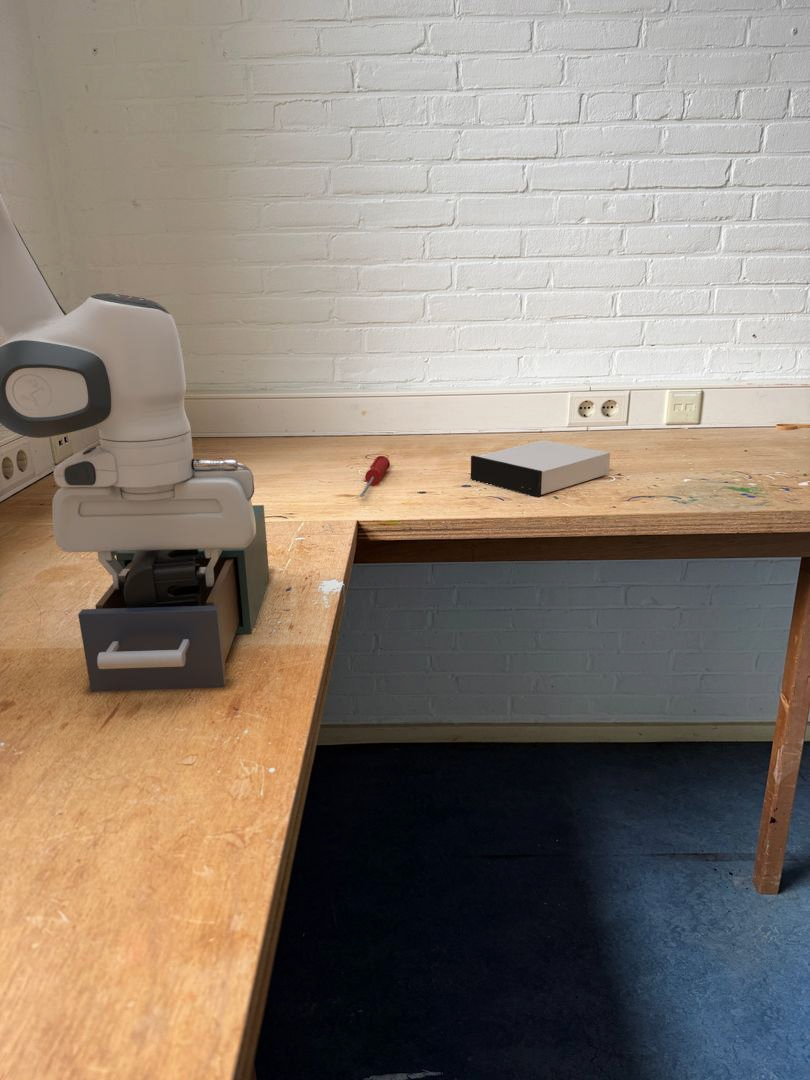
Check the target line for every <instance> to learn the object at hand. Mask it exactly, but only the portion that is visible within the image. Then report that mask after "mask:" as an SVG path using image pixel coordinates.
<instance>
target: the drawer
mask: <svg viewBox="0 0 810 1080" xmlns="http://www.w3.org/2000/svg"><path fill="white" fill-rule="evenodd" d="M210 559H211V558H195V560H196V562H195V564H200V567H207V565H208V563H209V561H210ZM131 563H132V560H131V561H130V562H129V564H128V565H127V566H126V567H125V569H130V567H131ZM213 571H214V584H213V586H212V587H202V594H201V606H183V607H147V608H128V606H127V604H126V602H125V599H124V589H114V585H113V583H112V584H111V585H110V586H109V588H107V590H106V591H105V592H104V594H103V595H102V596H101V597H100V598H99V600H98V601H97V602H96V604H95V608H82V609H81V610H80V611H79V613H78V614H77V616H78V621H79V628H80V635H81V641H82V647H83V652H84V658H85V664H86V669H87V676H88V683H89V687H90V693H97V692H98V693H99V692H126V691H127V692H128V691H129V692H131V691H160V690H191V689H192V690H193V689H195V690H196V689H217V688H218V689H221V688H222V689H224V688H226V684H227V676H226V675H227V674H226V667H225V663H226V660H227V657H228V654H229V652H230V649H231V647H232V643H233V641H234V638H235V636H236V634H235V633H236V630H237V627H238V625H239V622H240V619H241V609H240V598H239V587H238V576H237V565H236V557H225V558H218V560H217V562H216V564H215V566H214V568H213Z"/></svg>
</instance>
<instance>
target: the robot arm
mask: <svg viewBox="0 0 810 1080" xmlns="http://www.w3.org/2000/svg"><path fill="white" fill-rule="evenodd" d="M0 330H1V332H2V335H3V337H4V341H5V342H4V343H2V344H1V345H0V424H1V425H2V427H4V428H6V429H8V430H9V431H11V432H13V433H14V434H17V435H19V436H22V437H27V438H35V439H44V438H45V439H46V438H54V437H59V436H62V435H67V434H70V433H74V432H78V431H82V430H85V429H89V428H96V429H97V432H98V439H99V445H96V446H93V447H90V448H87V449H84V450H81V451H79V452H76V453H75V454H72V455H71V456H69V457H67V458H65V459H64V460H63V461H61V462H60V463H59V464H57V466H56V467H55V468H54V469H53V479H54V481H55V484H56V485H57V486H58V487H60V488H58V489H57V490H56V492H55V494H54V495H53V498H52V505H51V507H52V510H51V511H52V513H51V514H52V526H53V527H52V528H53V535H54V540H55V544H56V545H57V546H58V547H59V548H60V549H61V550H62V551H63V552H64V553H97V558H98V562H99V563H100V565H102V567H103V568H104V569H105V570H106V571H107V573H108V574H109V575H110V576H111V579H112V584H113V585H114V589H124V587H125V583H126V580H127V577H128V573H129V570H130V569H123V568H122V567H121V565H120V564H119V562H118V561H117V559H116V554H117V553H118V551H149V550H190V549H204V550H205V557H206V558H210V557H211V559H210V561H209V563H208V565H207V567H199V569H198V571H197V573H196V576H197V580H198V582H197V585H198V587H212V586H213V584H214V571H213V568H214V566H215V564H216V562H217V560H218V558H219V556H220V554H221V552H222V549H230V548H246V547H247V546H248V545H249V544H250V543H251V542H252V540H253V539H254V537H255V534H256V523H255V516H254V511H253V506H252V505H253V501H252V498H253V496H254V494H255V480H254V474H253V471H252V470H251V469H250V468H249V466H247V465H246V464H244V463H241V462H238V460H237V459H234V458H225V459H195V457H194V449H193V447H194V446H193V438H192V429H191V424H190V421H189V419H188V416H187V413H186V409H185V398H186V397H185V396H186V391H187V380H186V372H185V363H184V357H183V350H182V345H181V339H180V335H179V331H178V327H177V324H176V322H175V319H174V317H173V316H172V314H171V313H170V312H169V311H168V310H167V309H166V308H165V307H164V306H163V305H161V304H160V303H158V302H156V301H154V300H151V299H147V298H144V297H138V296H132V295H125V294H119V293H118V294H114V293H105V292H104V293H103V292H102V293H96V294H92V295H90V296H88V297H87V299H86V300H85V301H84V302H83V303H82V304H81V305H79V306H78V307H76V308H75V309H73V310H71V311H70V312H69V313H67V312H66V311H65V310H64V307H62V305H61V304H60V303H59V301H58V300H57V297H56V296H55V294H54V293H53V290H52V289H51V287H50V286H49V284H48V282H47V280H46V279H45V276H44V275H43V273H42V271H41V270H40V268H39V266H38V264H37V262H36V260H35V258H34V257H33V255H32V254H31V251H30V250H29V248H28V246H27V245H26V243H25V240H24V239H23V237H22V235H21V234H20V232H19V230H18V228H17V227H16V224H15V222H14V221H13V219H12V217H11V215H10V212H9V210H8V208H7V206H6V203H5V201H4V198H3V196H2V193H1V192H0Z"/></svg>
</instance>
